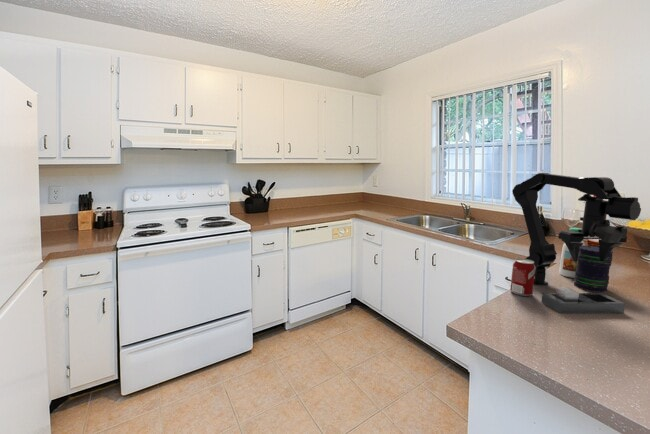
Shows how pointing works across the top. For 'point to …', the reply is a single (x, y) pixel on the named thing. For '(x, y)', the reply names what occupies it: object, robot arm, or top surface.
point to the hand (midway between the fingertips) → (588, 261)
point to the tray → (585, 303)
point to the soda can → (523, 277)
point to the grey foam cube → (567, 294)
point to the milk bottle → (568, 260)
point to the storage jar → (592, 270)
